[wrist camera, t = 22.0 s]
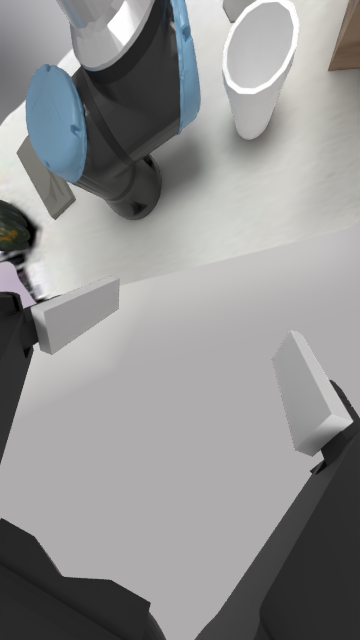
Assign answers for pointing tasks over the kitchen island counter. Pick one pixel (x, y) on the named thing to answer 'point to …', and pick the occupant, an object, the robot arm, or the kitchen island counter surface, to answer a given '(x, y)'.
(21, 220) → the squash
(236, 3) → the flask
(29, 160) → the soap mold
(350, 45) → the walnut stand
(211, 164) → the kitchen island counter surface
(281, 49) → the foam cup
